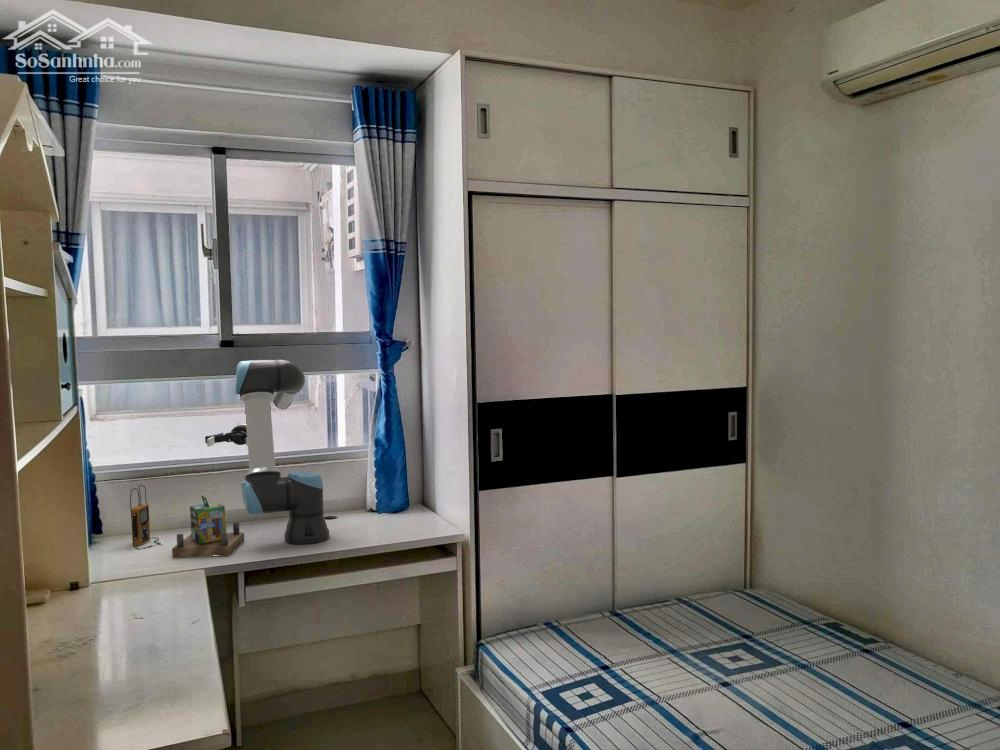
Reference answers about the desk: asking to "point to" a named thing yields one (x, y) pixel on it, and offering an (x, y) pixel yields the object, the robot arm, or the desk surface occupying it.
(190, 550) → the peg stand
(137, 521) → the multimeter
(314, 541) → the robot arm
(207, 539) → the chalk box
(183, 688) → the desk surface
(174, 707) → the desk surface
